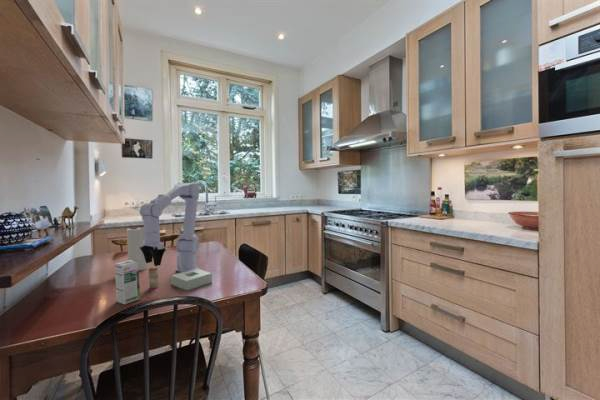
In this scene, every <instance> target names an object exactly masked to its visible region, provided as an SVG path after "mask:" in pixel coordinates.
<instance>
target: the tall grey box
mask: <svg viewBox="0 0 600 400" xmlns="http://www.w3.org/2000/svg"><path fill="white" fill-rule="evenodd" d="M142 241H144V227H143V228H141V227H131V228H130V227H129V228H126V242H127V243H126V244H127V245H126V246H127V261H129V260H134V261H137V262H138V267H139V271H142V270H146V269H148V263H146V261H145V258H144V255H143V253H142V251H141V249H140V247H143V246H142Z"/></svg>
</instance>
